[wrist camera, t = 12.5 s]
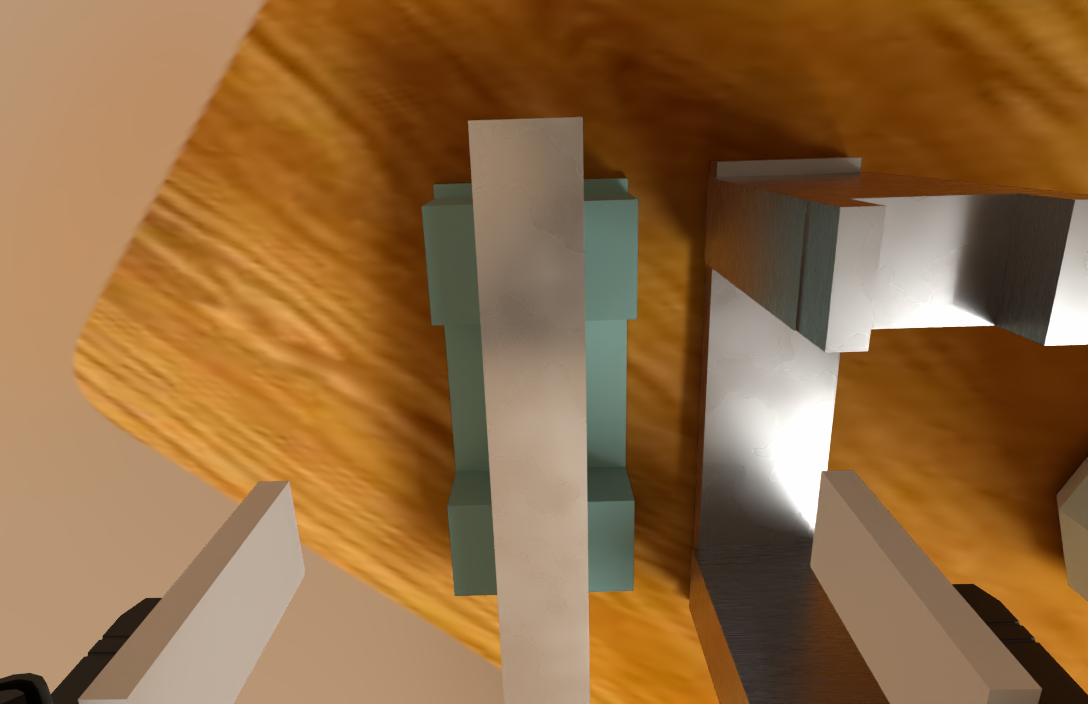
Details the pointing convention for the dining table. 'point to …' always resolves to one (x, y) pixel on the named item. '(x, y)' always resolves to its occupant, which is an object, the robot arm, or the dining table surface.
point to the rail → (535, 397)
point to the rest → (606, 363)
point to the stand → (834, 376)
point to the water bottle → (1075, 528)
